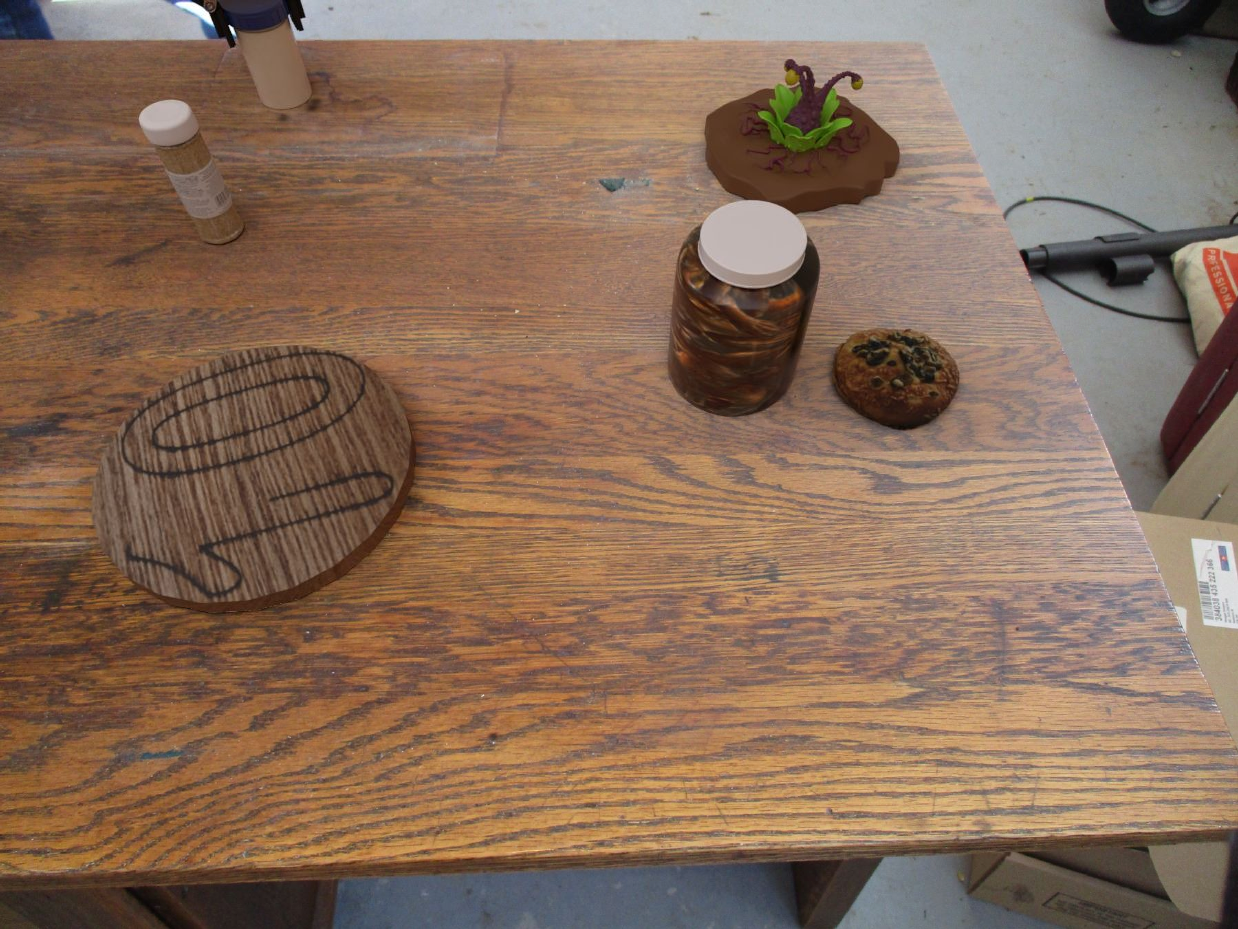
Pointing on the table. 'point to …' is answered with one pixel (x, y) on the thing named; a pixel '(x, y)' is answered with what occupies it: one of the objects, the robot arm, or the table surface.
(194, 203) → the spice bottle
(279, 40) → the beige cylindrical container
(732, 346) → the jar
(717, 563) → the table surface
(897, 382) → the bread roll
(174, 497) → the trivet
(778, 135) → the plant
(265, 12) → the lid
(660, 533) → the table surface
